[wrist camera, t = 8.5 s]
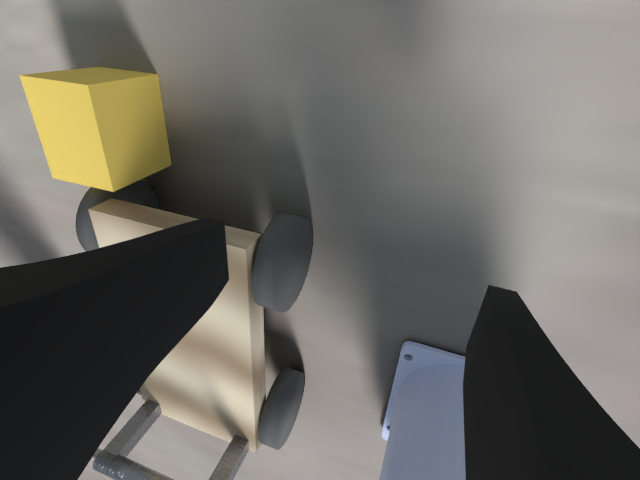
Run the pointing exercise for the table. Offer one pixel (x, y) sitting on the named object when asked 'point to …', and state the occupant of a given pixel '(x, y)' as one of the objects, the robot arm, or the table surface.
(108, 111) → the block
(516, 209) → the table surface
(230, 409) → the dolly
